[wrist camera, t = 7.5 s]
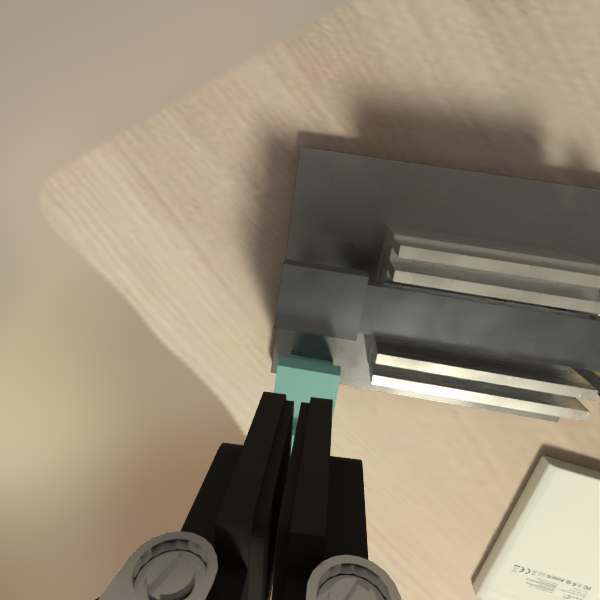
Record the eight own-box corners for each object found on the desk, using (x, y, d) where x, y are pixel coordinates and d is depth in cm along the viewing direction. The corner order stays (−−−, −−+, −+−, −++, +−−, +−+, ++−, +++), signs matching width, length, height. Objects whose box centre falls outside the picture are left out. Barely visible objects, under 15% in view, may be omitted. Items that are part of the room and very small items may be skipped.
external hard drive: (654, 483, 29) (572, 610, 32) (538, 449, 29) (469, 579, 32) (672, 501, 27) (583, 632, 31) (549, 465, 27) (476, 599, 31)
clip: (341, 317, 26) (340, 382, 18) (328, 389, 27) (322, 478, 19) (296, 310, 26) (275, 371, 18) (286, 382, 27) (262, 467, 19)
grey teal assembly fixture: (630, 194, 23) (755, 203, 16) (550, 413, 27) (621, 496, 20) (302, 147, 24) (284, 136, 17) (273, 365, 28) (249, 429, 21)
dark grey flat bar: (654, 315, 20) (677, 325, 18) (629, 375, 21) (649, 389, 19) (285, 258, 21) (282, 264, 19) (278, 318, 22) (274, 328, 20)
